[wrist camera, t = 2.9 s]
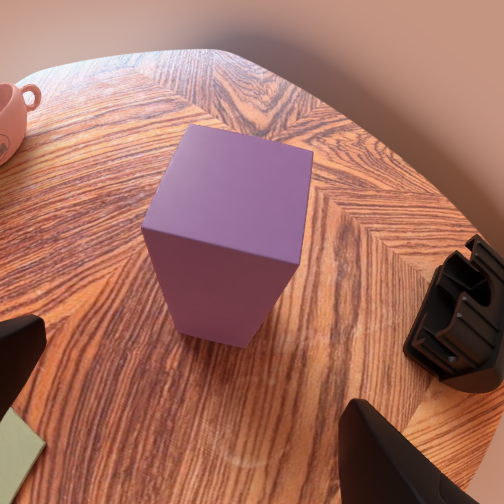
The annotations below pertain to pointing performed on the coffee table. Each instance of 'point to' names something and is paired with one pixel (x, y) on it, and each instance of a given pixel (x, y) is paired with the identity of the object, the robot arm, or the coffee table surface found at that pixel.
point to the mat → (16, 454)
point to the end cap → (463, 321)
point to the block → (227, 230)
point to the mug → (14, 117)
